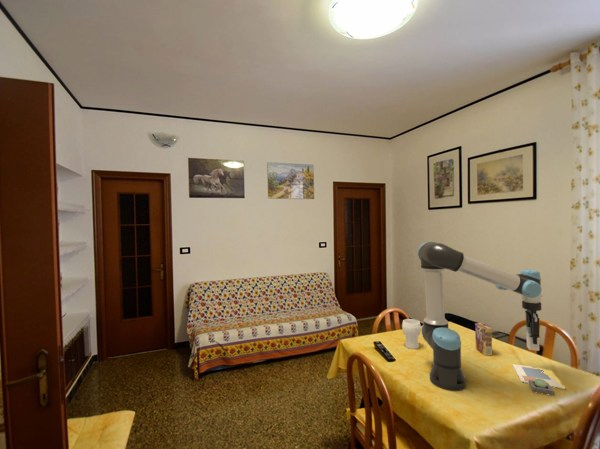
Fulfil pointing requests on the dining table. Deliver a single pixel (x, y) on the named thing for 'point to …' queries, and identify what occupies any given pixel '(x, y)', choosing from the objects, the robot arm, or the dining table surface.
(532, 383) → the button housing
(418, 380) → the dining table surface
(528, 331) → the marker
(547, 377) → the picture card
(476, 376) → the dining table surface
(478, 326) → the candy box
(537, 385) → the button
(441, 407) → the dining table surface
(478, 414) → the dining table surface
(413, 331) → the cup
